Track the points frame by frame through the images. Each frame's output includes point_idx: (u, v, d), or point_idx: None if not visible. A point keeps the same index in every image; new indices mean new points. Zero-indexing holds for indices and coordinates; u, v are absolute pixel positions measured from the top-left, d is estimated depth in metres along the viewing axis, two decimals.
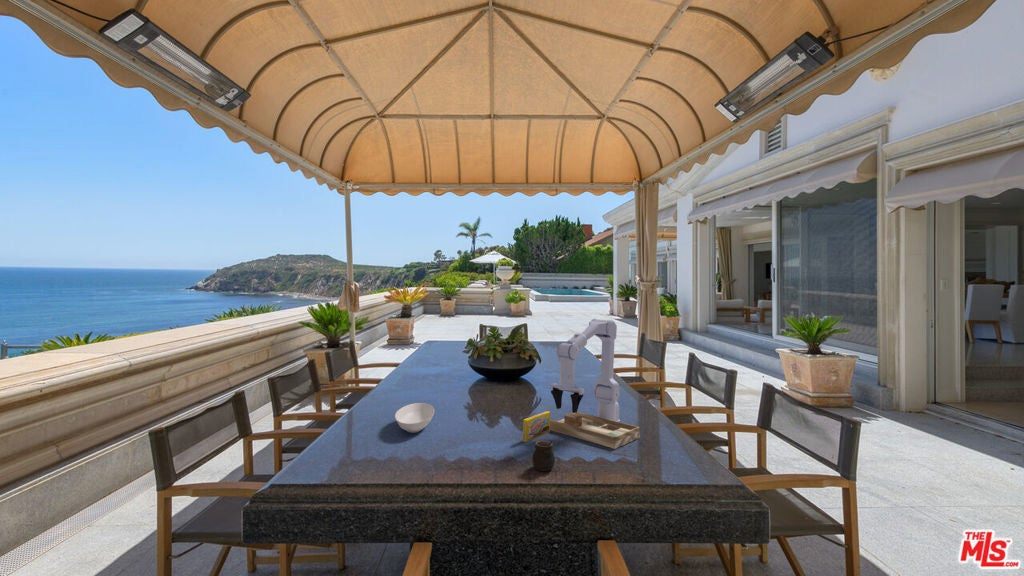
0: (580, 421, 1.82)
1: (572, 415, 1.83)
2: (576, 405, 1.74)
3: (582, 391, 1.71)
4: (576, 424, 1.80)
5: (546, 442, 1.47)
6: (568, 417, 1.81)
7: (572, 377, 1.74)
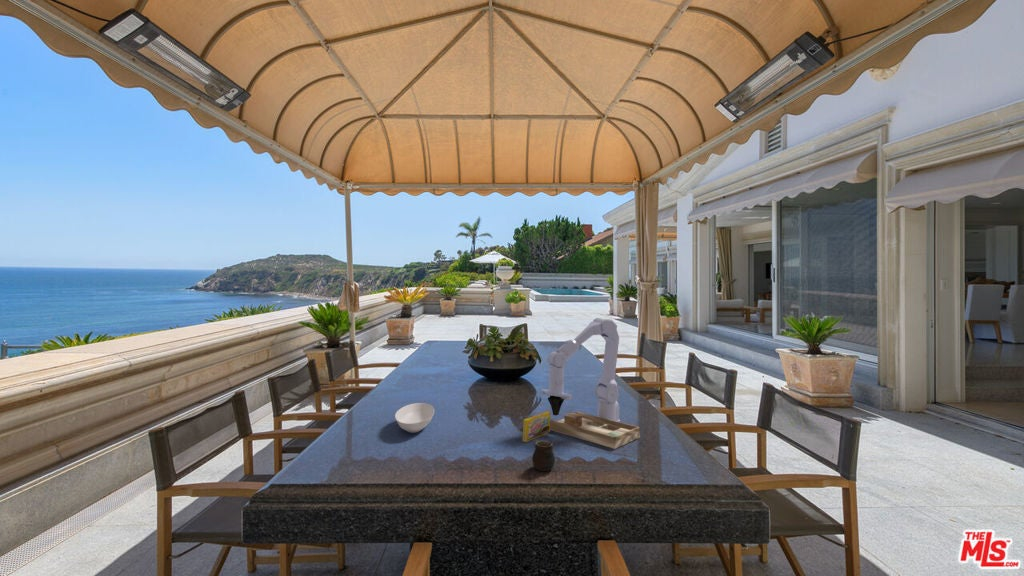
0: (580, 421, 1.82)
1: (572, 415, 1.83)
2: (558, 408, 1.89)
3: (570, 397, 1.84)
4: (576, 424, 1.80)
5: (546, 442, 1.47)
6: (568, 417, 1.81)
7: (561, 384, 1.87)
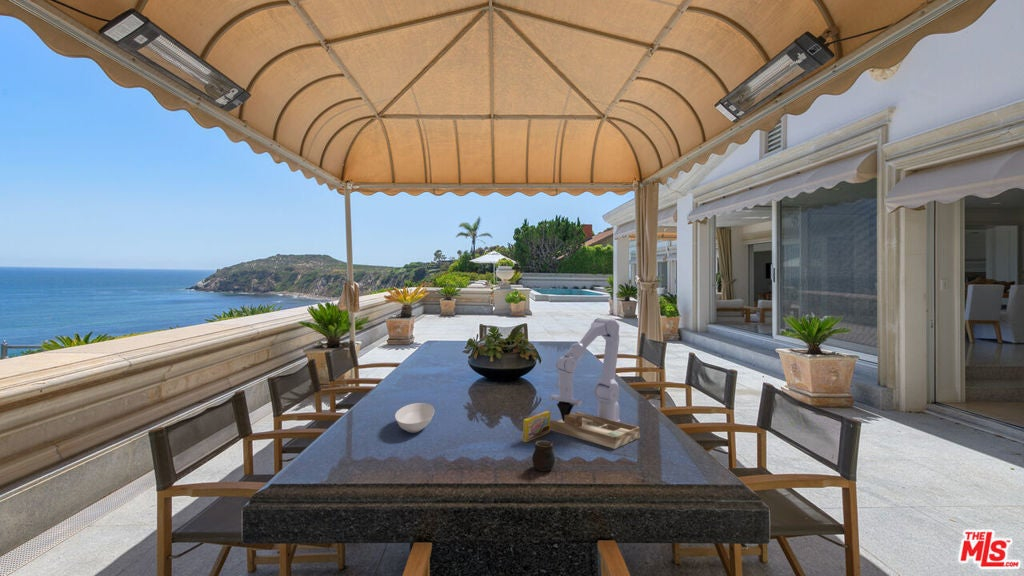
0: (580, 421, 1.82)
1: (572, 415, 1.83)
2: None
3: (580, 403, 1.81)
4: (576, 424, 1.80)
5: (546, 442, 1.47)
6: (568, 417, 1.81)
7: (570, 389, 1.83)
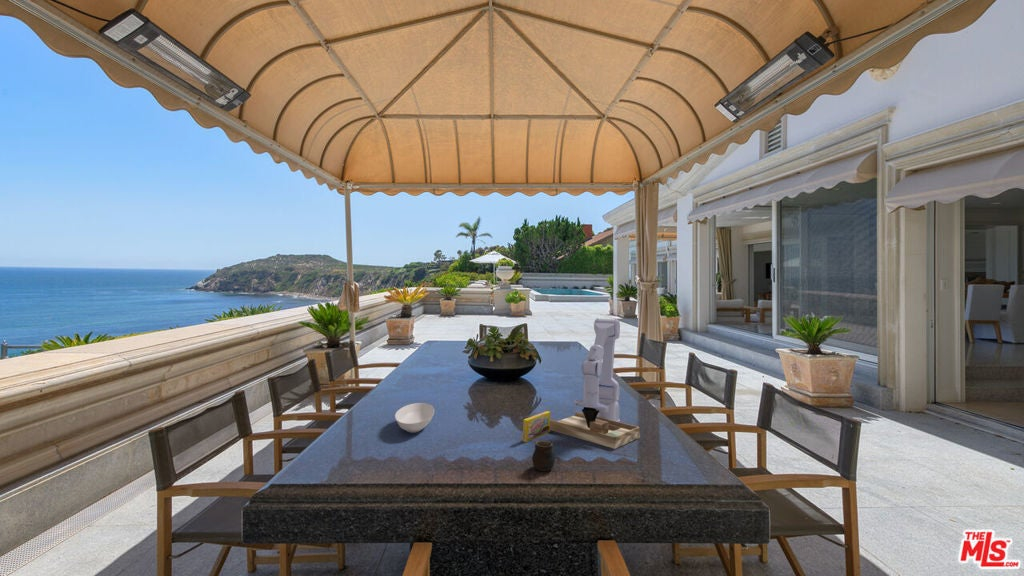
0: (606, 428, 1.74)
1: (598, 422, 1.74)
2: (592, 420, 1.77)
3: (606, 409, 1.72)
4: (602, 431, 1.72)
5: (546, 442, 1.47)
6: (594, 424, 1.73)
7: (596, 394, 1.75)
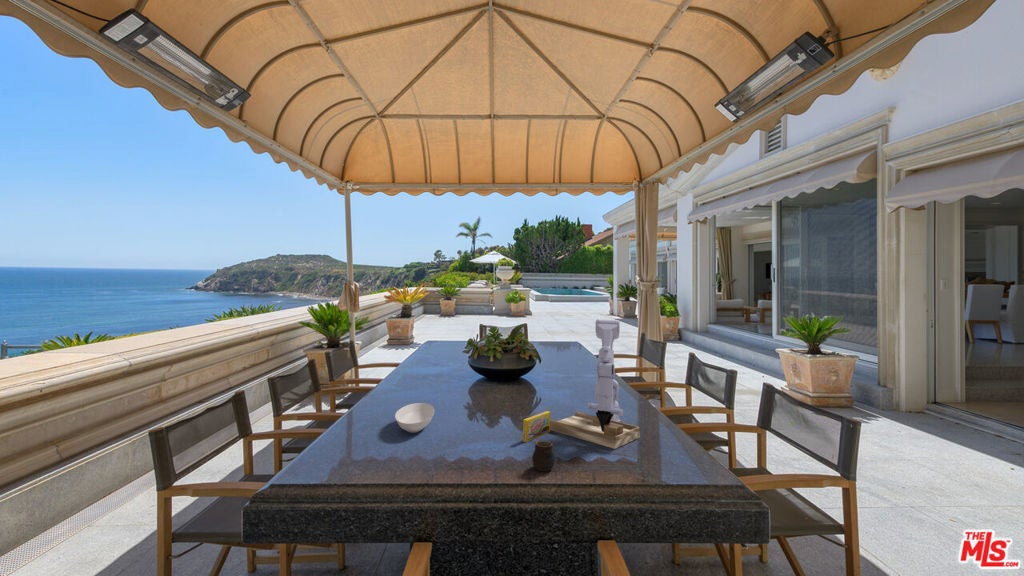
0: (621, 432, 1.69)
1: (612, 425, 1.70)
2: (606, 424, 1.73)
3: (621, 412, 1.68)
4: (617, 435, 1.67)
5: (546, 442, 1.47)
6: (608, 428, 1.69)
7: (610, 397, 1.71)
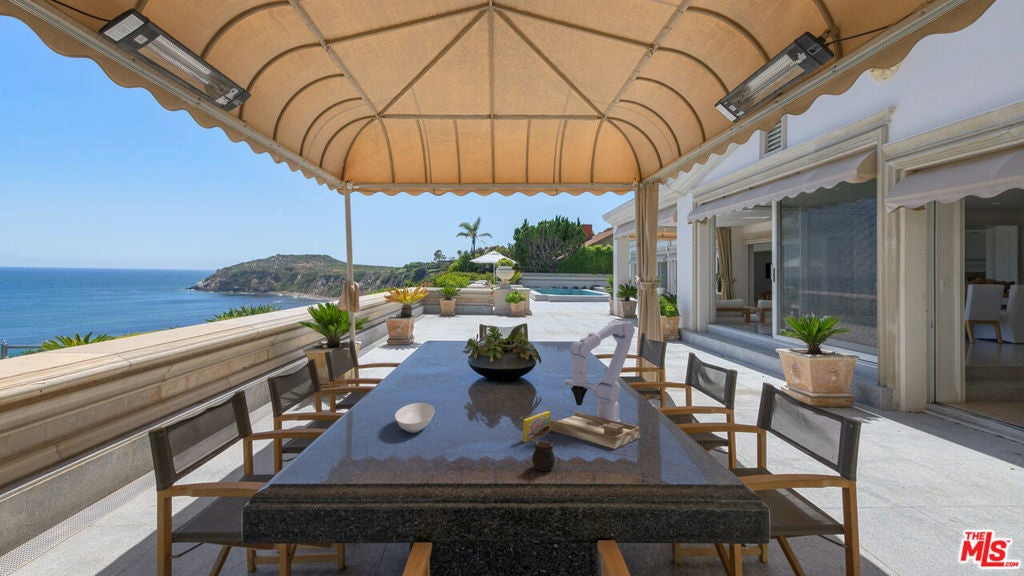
0: (621, 432, 1.69)
1: (612, 425, 1.70)
2: (581, 398, 1.88)
3: (594, 387, 1.83)
4: (617, 435, 1.67)
5: (546, 442, 1.47)
6: (608, 428, 1.69)
7: (584, 373, 1.86)
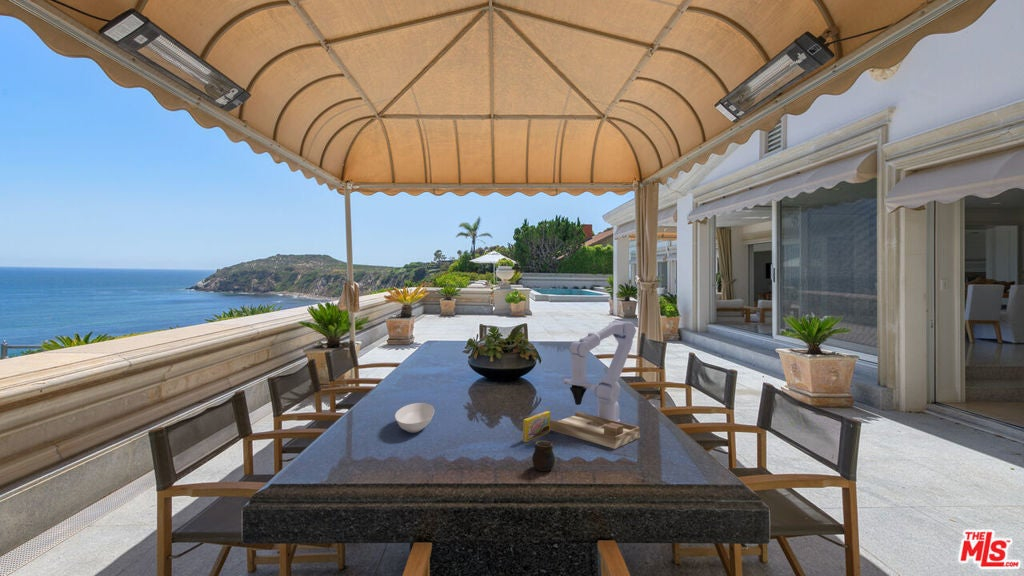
0: (621, 432, 1.69)
1: (612, 425, 1.70)
2: (580, 398, 1.88)
3: (593, 386, 1.84)
4: (617, 435, 1.67)
5: (546, 442, 1.47)
6: (608, 428, 1.69)
7: (583, 373, 1.86)
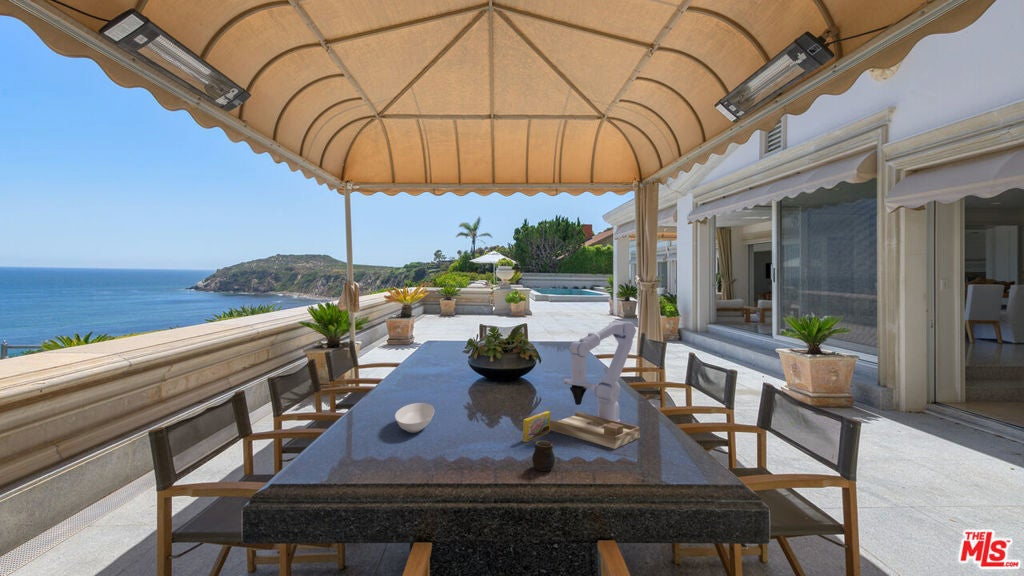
0: (621, 432, 1.69)
1: (612, 425, 1.70)
2: (580, 398, 1.88)
3: (593, 386, 1.84)
4: (617, 435, 1.67)
5: (546, 442, 1.47)
6: (608, 428, 1.69)
7: (583, 373, 1.86)
